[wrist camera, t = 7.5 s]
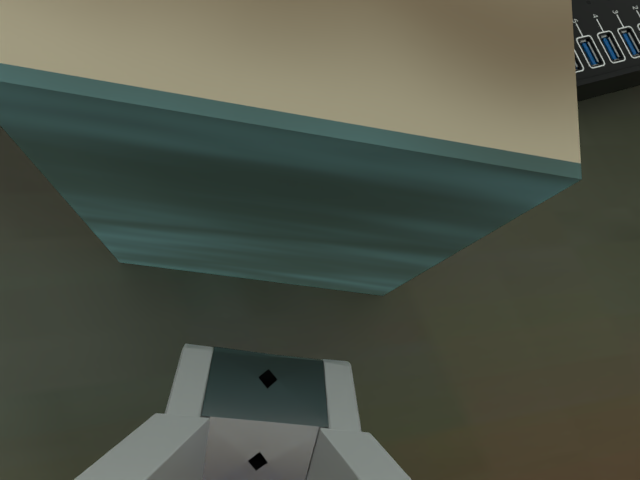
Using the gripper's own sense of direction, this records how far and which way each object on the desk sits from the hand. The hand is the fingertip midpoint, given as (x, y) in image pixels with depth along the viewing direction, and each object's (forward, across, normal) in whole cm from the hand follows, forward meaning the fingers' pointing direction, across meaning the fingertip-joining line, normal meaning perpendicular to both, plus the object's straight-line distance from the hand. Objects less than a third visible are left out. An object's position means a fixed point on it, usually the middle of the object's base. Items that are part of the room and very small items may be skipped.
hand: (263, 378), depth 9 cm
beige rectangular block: (+11, 0, -3) cm, 11 cm away
